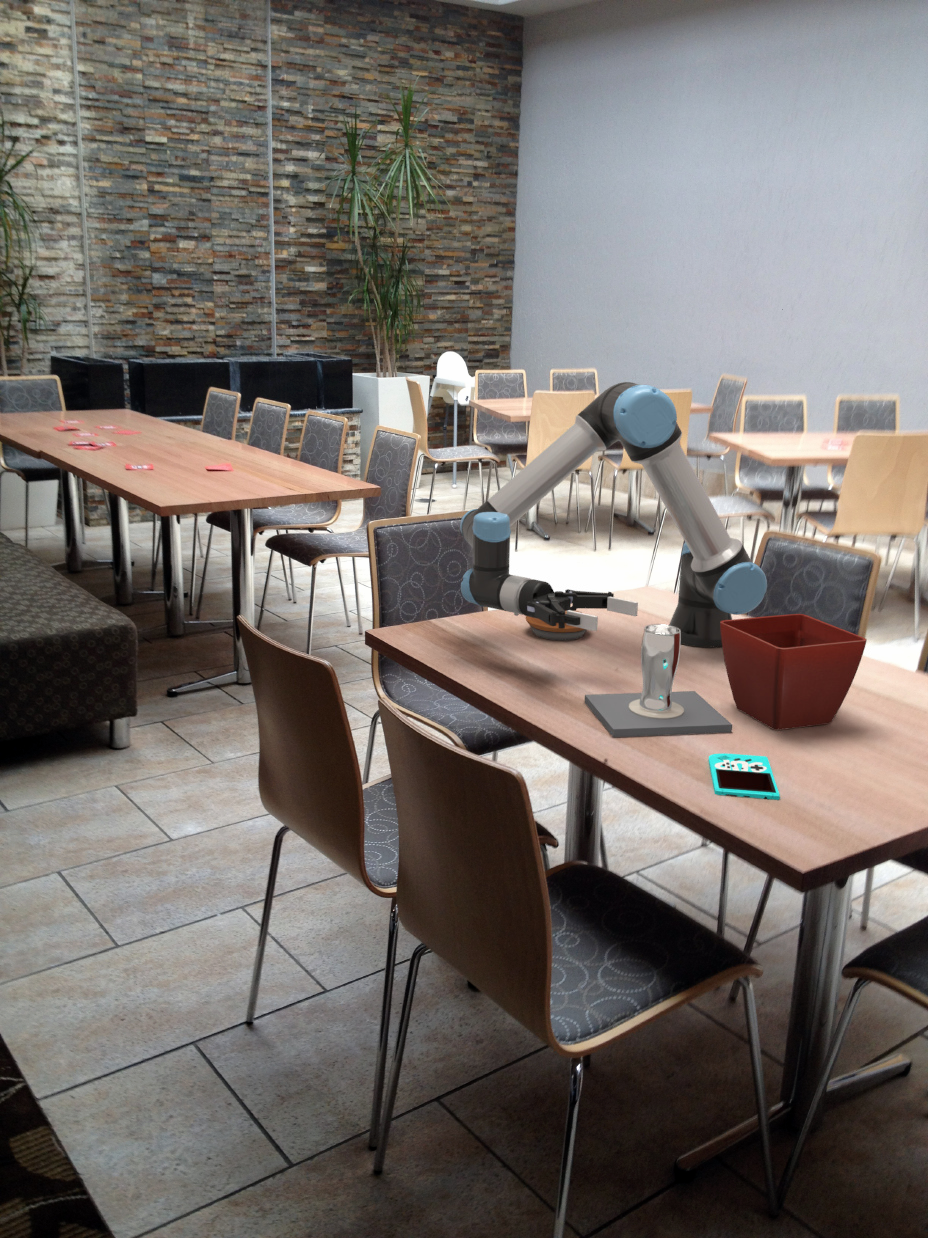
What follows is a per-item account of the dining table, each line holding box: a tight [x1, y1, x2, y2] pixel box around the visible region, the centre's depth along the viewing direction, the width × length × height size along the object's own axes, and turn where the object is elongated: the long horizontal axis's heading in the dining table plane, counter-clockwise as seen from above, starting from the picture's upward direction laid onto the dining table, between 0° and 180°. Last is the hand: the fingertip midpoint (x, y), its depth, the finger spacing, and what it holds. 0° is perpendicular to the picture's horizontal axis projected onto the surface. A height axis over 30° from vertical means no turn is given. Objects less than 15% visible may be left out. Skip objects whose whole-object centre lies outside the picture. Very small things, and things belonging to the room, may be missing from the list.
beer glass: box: [639, 623, 682, 713], centre depth 199 cm, size 7×7×15 cm
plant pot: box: [720, 613, 868, 731], centre depth 202 cm, size 19×19×17 cm
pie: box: [525, 609, 588, 641], centre depth 252 cm, size 16×16×5 cm
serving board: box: [583, 690, 733, 738], centre depth 201 cm, size 22×18×2 cm
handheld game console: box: [707, 752, 781, 801], centre depth 176 cm, size 10×16×1 cm, turn 172°
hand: (617, 616), depth 206 cm, fingers open, 13 cm apart
